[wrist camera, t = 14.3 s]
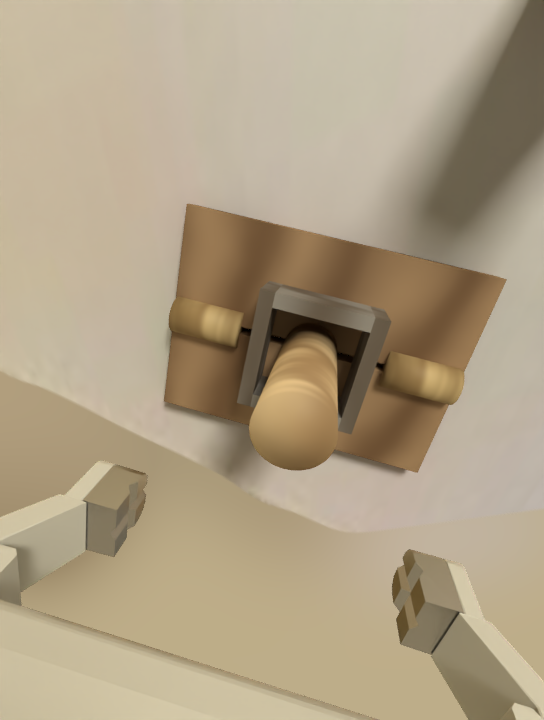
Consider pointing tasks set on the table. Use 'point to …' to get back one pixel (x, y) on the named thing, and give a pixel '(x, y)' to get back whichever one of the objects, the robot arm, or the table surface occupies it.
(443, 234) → the table surface
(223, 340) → the wooden socket board
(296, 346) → the pin
